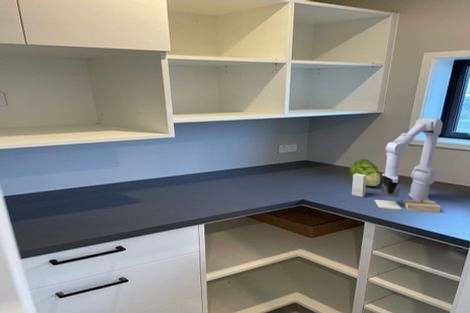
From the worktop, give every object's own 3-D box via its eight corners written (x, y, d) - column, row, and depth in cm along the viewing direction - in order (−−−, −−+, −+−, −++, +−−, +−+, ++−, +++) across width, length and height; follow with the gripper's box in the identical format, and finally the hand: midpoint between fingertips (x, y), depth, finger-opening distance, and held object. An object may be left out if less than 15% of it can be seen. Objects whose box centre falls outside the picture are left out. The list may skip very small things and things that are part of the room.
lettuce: (358, 193, 172) (369, 172, 164) (341, 173, 189) (351, 154, 182) (380, 195, 176) (392, 175, 169) (362, 175, 193) (372, 156, 186)
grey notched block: (380, 192, 149) (382, 183, 147) (395, 194, 147) (397, 185, 146) (383, 195, 145) (384, 186, 144) (398, 197, 143) (399, 187, 142)
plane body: (402, 204, 148) (404, 194, 147) (432, 206, 145) (434, 196, 144) (407, 209, 141) (409, 199, 140) (439, 212, 138) (441, 201, 137)
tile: (374, 200, 153) (374, 199, 153) (394, 202, 151) (394, 201, 151) (379, 207, 144) (379, 206, 143) (401, 209, 141) (401, 208, 141)
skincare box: (365, 195, 161) (367, 174, 158) (362, 197, 158) (364, 176, 155) (354, 193, 165) (356, 172, 162) (350, 194, 162) (353, 174, 159)
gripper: (379, 162, 150) (376, 186, 153) (388, 169, 137) (384, 196, 140) (394, 163, 149) (391, 187, 152) (404, 170, 135) (400, 197, 138)
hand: (389, 192), depth 146 cm, fingers closed on grey notched block, 4 cm apart
